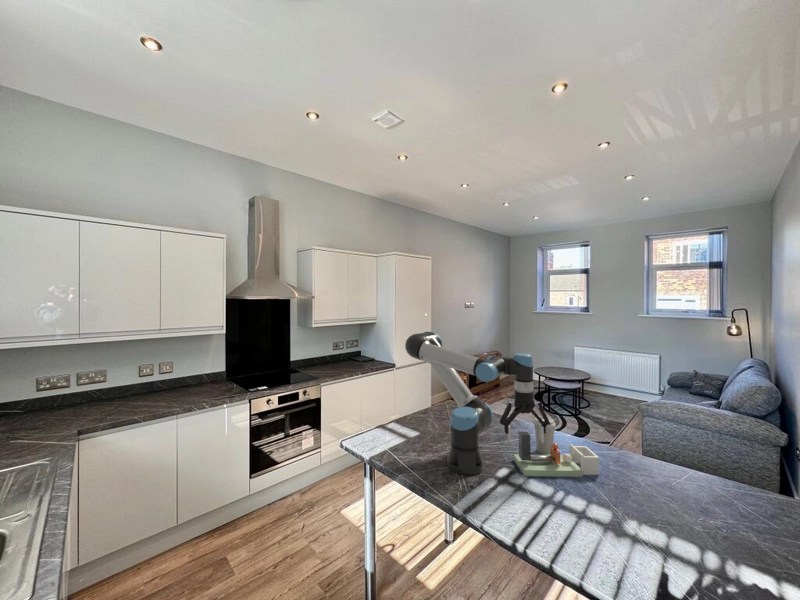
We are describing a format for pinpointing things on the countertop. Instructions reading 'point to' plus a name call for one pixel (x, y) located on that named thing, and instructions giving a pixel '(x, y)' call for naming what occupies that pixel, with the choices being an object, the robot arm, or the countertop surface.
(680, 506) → the countertop surface
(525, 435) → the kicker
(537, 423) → the coffee cup
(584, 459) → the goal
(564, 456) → the ball
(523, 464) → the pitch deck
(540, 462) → the rail guide
